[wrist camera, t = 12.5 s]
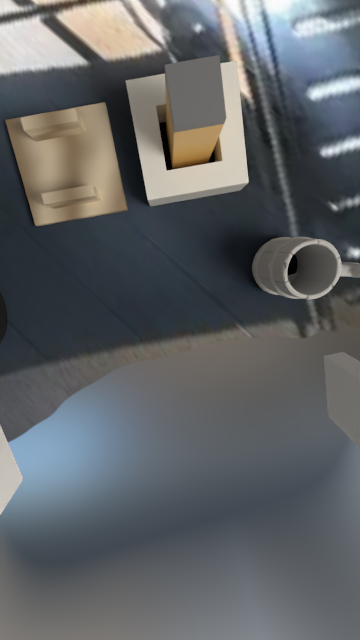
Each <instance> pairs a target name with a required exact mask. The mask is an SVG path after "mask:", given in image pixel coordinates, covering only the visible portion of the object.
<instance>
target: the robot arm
mask: <svg viewBox="0 0 360 640" xmlns="http://www.w3.org/2000/svg"><path fill="white" fill-rule="evenodd" d="M6 326H7V312H6V307H5V303H4V300H3V298H2V296H1V294H0V342H1V341H2V339H3V337H4V334H5V331H6ZM324 365H325V378H326V391H327V402H328V403H327V404H328V416H329V417H330V418H331V419H332V420H333V421H334V422H335V423H336V425H338V427H339V428H341V430H342V431H343V432H344V433H345V434H346V435H347V436H348V437H349V438H350V439H351V440H352V441H353V442H354V443H355V444H356V445H357V446H358V447H359V448H360V361H358V360H356V359H354V358H352V357H350V356H349V355H347V354H345V353H344V352H341V353H336V354H331V355H327V356H324ZM22 480H23V477H22V475H21V473H20V470H19V468H18V466H17V463H16V461H15V459H14V456H13V454H12V452H11V449H10V447H9V444H8V442H7V440H6V437H5V435H4V433H3V430H2V428H1V426H0V514H1V513H2V511H3V510H4V508H5V507H6V505H7V504H8V502H9V501H10V499H11V497H12V496H13V494H14V493H15V491H16V489H17V488H18V487H19V485H20V483H21V482H22Z"/></svg>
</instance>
